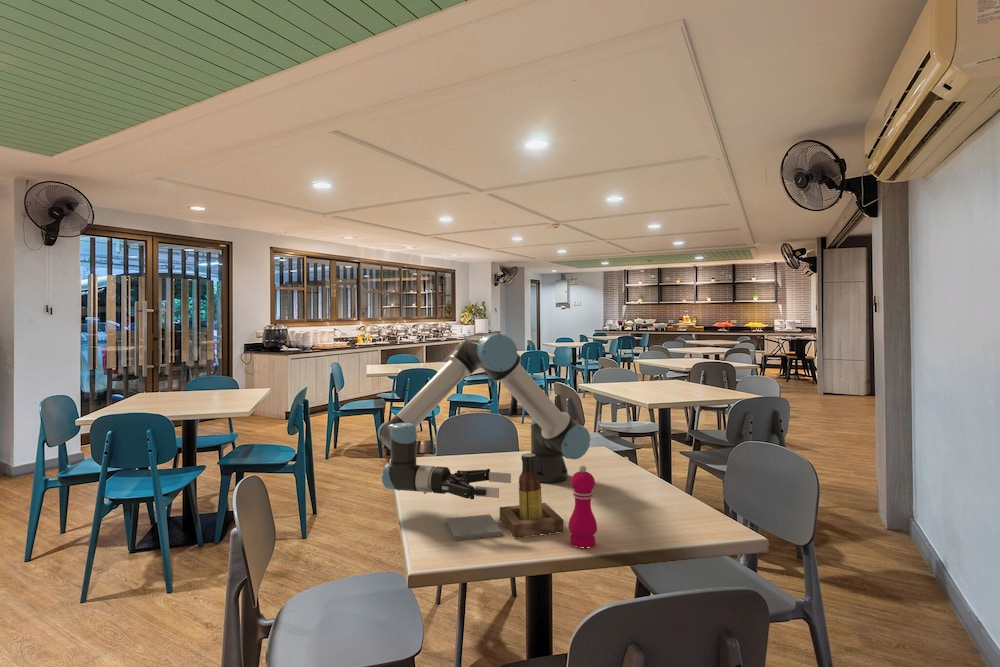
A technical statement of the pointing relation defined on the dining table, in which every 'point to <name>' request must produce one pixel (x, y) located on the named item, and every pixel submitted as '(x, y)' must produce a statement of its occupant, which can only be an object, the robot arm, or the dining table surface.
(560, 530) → the bottle holder
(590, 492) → the pepper mill
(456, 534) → the slate tile
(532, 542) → the dining table surface
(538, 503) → the sauce bottle
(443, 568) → the dining table surface
